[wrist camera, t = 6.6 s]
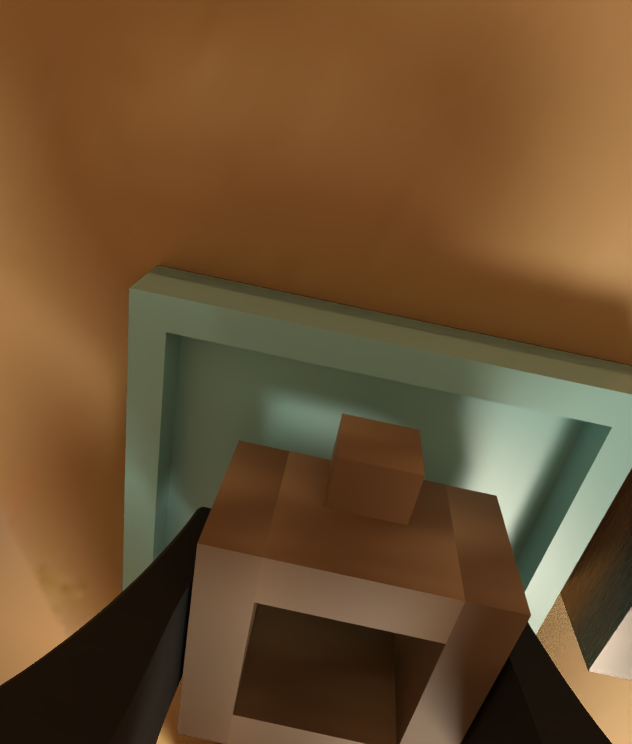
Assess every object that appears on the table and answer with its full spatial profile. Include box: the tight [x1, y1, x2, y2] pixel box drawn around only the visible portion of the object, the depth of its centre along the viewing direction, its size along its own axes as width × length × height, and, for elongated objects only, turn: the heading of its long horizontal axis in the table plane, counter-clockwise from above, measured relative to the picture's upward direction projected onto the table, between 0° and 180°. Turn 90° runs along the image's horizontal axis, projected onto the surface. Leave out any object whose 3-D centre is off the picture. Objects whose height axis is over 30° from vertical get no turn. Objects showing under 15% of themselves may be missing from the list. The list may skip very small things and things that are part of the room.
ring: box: [176, 413, 531, 744], centre depth 11 cm, size 6×7×3 cm
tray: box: [122, 265, 632, 635], centre depth 14 cm, size 11×11×2 cm
